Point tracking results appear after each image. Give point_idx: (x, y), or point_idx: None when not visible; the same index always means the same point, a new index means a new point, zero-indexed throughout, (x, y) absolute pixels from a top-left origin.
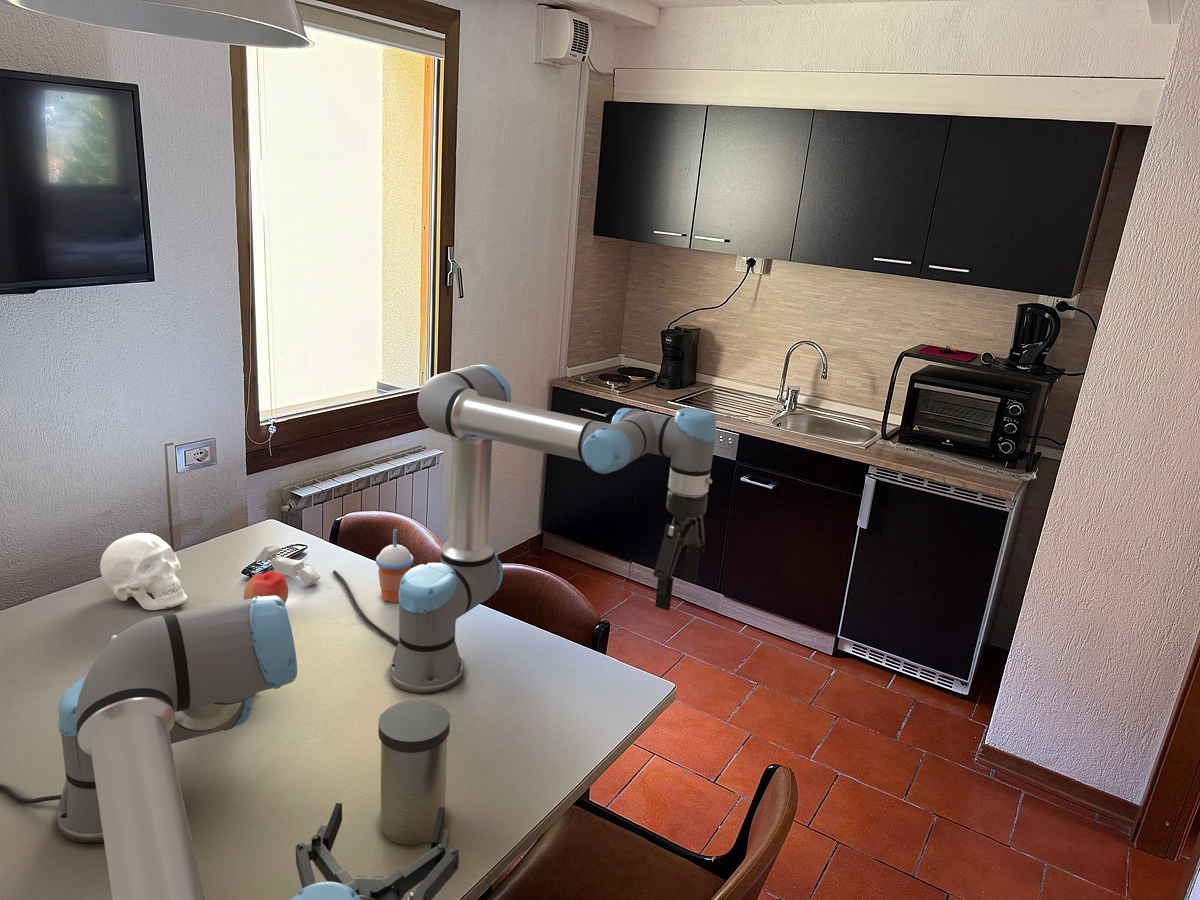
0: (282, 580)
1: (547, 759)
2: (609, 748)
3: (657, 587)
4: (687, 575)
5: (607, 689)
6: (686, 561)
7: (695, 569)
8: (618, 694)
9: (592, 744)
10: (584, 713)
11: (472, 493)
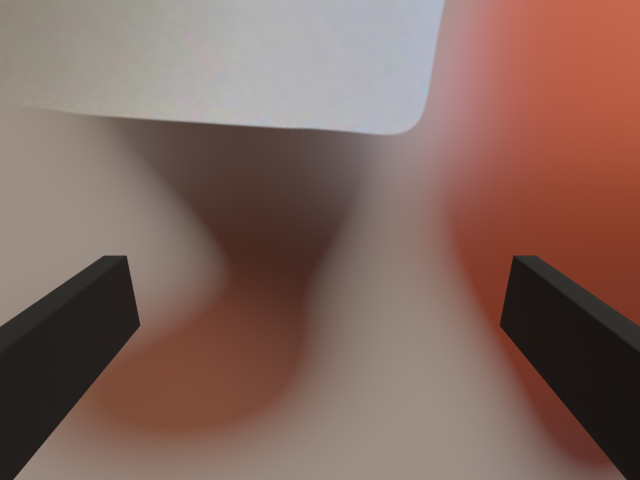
0: None
1: (69, 27)
2: (179, 120)
3: (8, 324)
4: (530, 302)
5: (354, 15)
6: (603, 347)
7: (552, 383)
8: (349, 49)
9: (167, 85)
10: (243, 15)
11: None
